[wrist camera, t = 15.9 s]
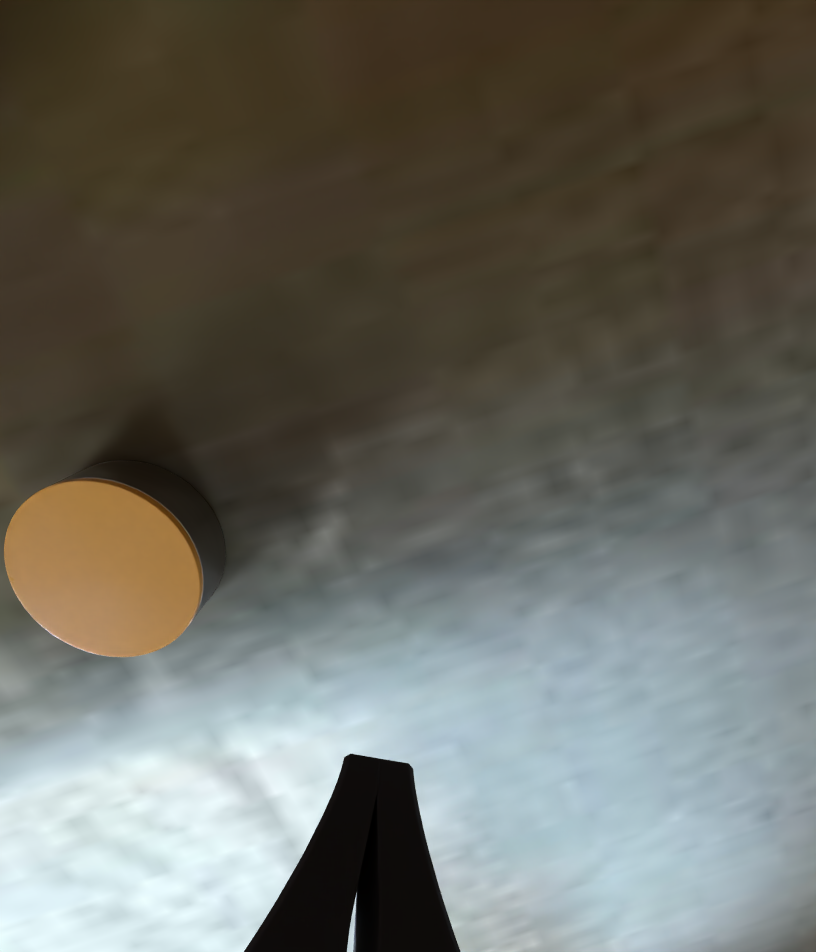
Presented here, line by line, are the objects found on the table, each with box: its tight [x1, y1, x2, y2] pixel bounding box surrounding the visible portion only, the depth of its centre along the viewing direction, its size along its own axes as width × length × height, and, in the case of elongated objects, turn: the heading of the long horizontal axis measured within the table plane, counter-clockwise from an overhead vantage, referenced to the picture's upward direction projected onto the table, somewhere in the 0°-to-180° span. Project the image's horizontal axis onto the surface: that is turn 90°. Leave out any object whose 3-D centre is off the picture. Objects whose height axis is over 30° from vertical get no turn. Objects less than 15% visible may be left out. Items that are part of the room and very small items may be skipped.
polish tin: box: [4, 460, 226, 657], centre depth 20 cm, size 7×7×2 cm
